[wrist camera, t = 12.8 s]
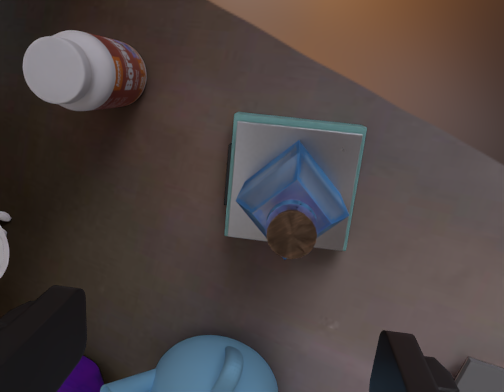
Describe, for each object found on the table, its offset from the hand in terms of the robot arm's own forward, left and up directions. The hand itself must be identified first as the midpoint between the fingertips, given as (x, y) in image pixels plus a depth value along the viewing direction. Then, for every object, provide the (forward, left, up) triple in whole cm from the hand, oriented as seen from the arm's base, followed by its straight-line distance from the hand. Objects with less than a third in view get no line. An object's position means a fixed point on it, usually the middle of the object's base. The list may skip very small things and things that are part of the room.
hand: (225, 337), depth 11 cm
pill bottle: (-6, -16, -31) cm, 35 cm away
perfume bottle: (+3, +2, -27) cm, 27 cm away
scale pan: (+3, +2, -27) cm, 27 cm away
